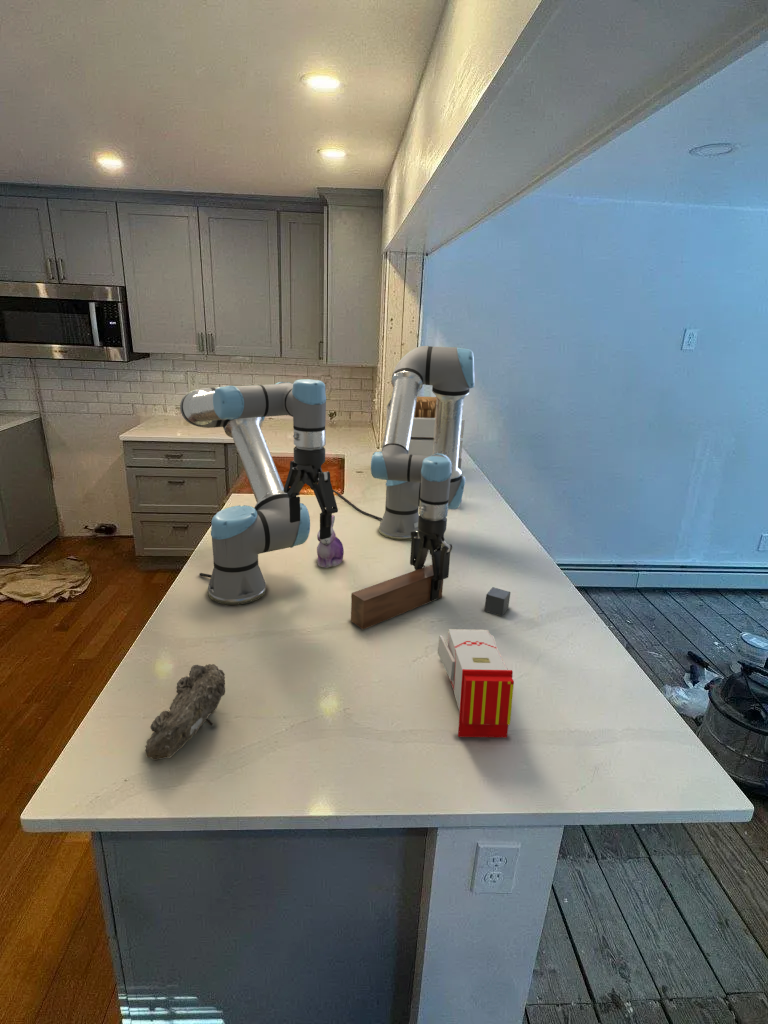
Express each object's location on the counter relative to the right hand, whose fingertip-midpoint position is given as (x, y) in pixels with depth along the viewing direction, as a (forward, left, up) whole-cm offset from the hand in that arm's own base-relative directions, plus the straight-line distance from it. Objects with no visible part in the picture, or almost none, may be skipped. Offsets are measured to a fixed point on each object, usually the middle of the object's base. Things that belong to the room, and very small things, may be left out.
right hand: (426, 594), depth 156 cm
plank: (0, -11, -1) cm, 11 cm away
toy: (+35, -22, -1) cm, 41 cm away
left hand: (-15, -29, +21) cm, 38 cm away
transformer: (-92, +86, -1) cm, 126 cm away
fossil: (+9, -71, -1) cm, 71 cm away
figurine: (-34, -9, -1) cm, 35 cm away
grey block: (+16, +10, -1) cm, 19 cm away
